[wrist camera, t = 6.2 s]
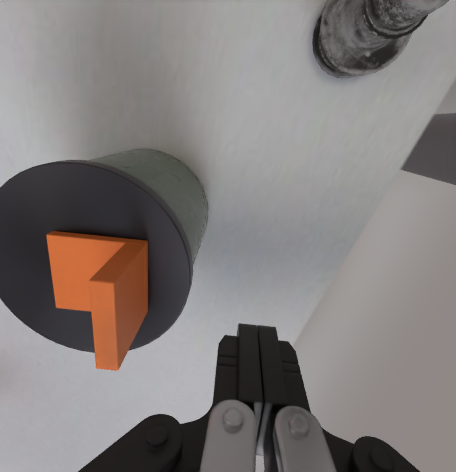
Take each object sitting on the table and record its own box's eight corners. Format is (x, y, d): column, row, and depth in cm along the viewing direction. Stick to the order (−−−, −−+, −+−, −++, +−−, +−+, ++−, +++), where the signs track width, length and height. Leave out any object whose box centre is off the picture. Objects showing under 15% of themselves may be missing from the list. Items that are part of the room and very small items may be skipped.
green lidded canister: (216, 152, 25) (196, 175, 14) (206, 272, 29) (185, 363, 18) (82, 139, 25) (-44, 150, 14) (91, 260, 29) (0, 343, 18)
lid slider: (148, 240, 15) (113, 282, 11) (148, 311, 17) (118, 371, 13) (52, 230, 15) (-17, 269, 11) (61, 302, 17) (4, 359, 13)
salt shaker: (337, -28, 21) (452, -210, 9) (406, 16, 21) (589, -105, 10) (293, 59, 23) (346, -6, 11) (358, 96, 23) (468, 69, 12)
